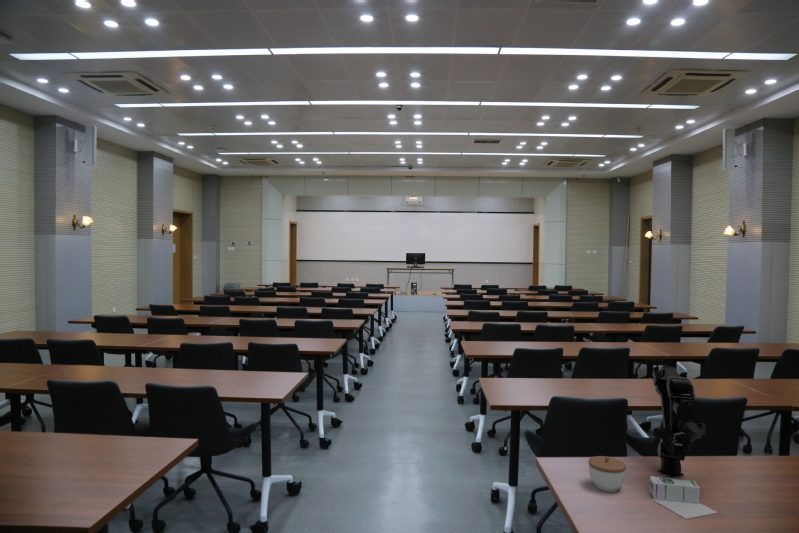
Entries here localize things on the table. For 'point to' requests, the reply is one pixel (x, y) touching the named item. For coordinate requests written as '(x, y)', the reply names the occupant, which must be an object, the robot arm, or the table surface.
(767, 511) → the table surface
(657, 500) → the mat
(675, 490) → the syrup box
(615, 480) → the lidded bowl
